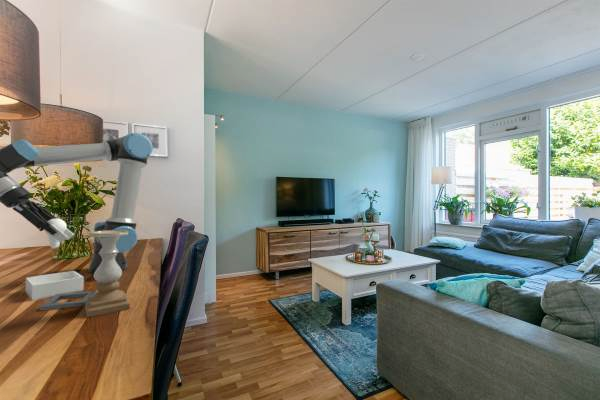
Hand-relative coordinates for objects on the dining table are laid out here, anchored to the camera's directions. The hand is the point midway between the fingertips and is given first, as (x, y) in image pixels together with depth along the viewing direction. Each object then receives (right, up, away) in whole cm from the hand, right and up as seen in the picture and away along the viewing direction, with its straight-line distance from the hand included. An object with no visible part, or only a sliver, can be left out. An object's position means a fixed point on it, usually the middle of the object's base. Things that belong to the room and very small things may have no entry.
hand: (67, 238), depth 100 cm
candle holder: (+26, -20, -15) cm, 36 cm away
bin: (-4, -19, -1) cm, 19 cm away
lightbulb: (-3, -4, -2) cm, 5 cm away
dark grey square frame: (+10, -19, -11) cm, 25 cm away
